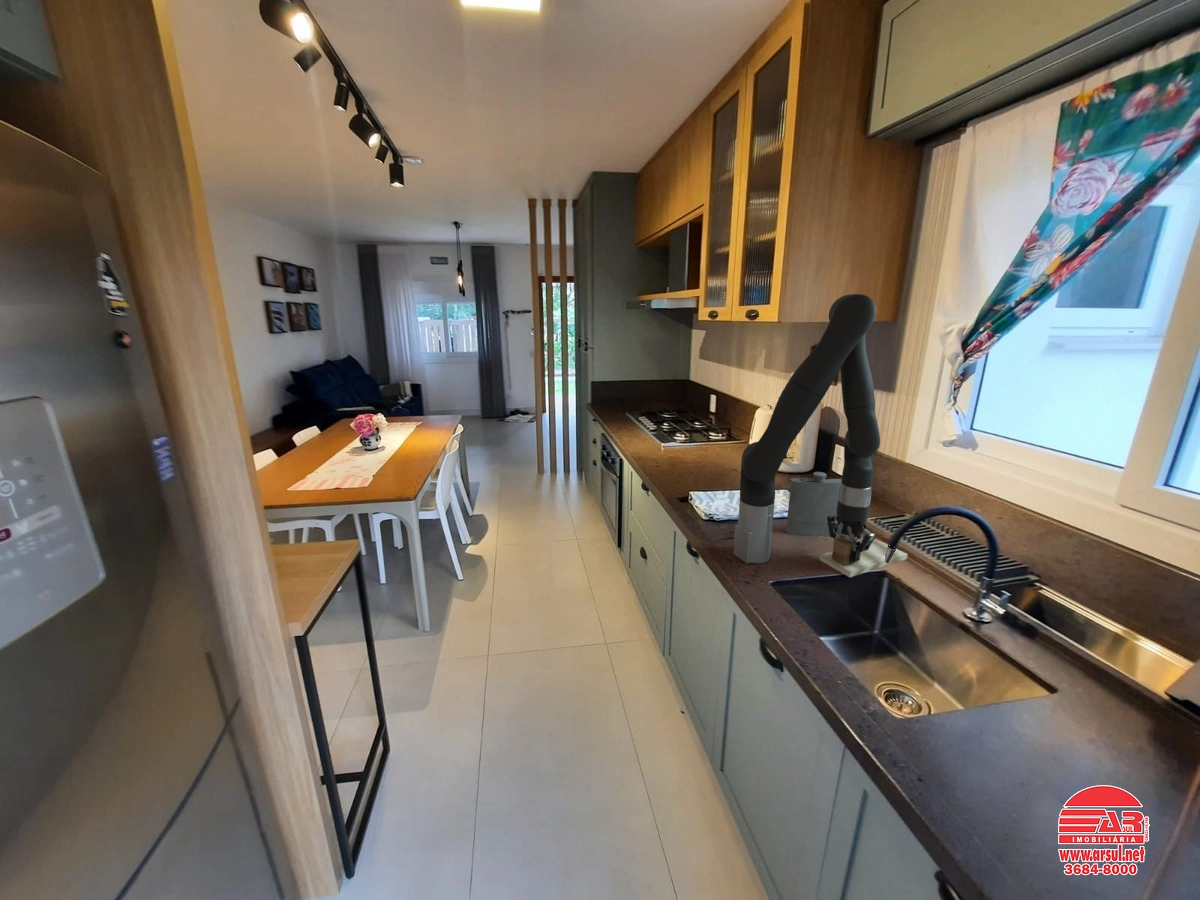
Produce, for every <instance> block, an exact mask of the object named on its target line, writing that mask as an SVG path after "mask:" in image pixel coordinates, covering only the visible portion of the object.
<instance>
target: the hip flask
mask: <svg viewBox="0 0 1200 900" xmlns="http://www.w3.org/2000/svg"><path fill="white" fill-rule="evenodd" d="M841 481H842V478H830V479H827V473H825V472H822V471H815V472H813V477H810V478H809V477H808V478H806V477H805V478H803V477H802V478H794V477H793V478H791V479H790V484H789V485H790V486H789V496H788V507H787V509H788V510H787V517H786V528H785V529H786V530H785V532H786V533H787V534H788V535H796V536H807V537H808V536H809V537H810V536H811V537H830V534H829V528H828V521H827V517H828V516H832V515H836V516H837V513H836V512H837V504H838V496H839V489H840V486H841ZM838 527H839V526H838ZM833 530H834V529H833Z"/></svg>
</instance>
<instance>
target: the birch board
mask: <svg viewBox="0 0 1200 900" xmlns="http://www.w3.org/2000/svg"><path fill="white" fill-rule="evenodd" d="M888 545H889V544H887V543H885V542H883V541H882V540H881V541H880V540H878V539H876V538H875V539H874V540H873V542H872V544H871V546H870V547H869V549H868V550H866V551H863V552H861V557H860V561H857V562H855V563H850V564H847V565H842V564H840V563H839V562H837V561H835V560H833V559H832V553H833V551H830V552H826V553H823V554H821V555H819V561H821V562H822V563H824V564H826V565H828V566H829V567H831V568H832V569H834V570H836V571H838V572H839V573H841V574H843V575H844V576H846V577H848V578H854V577H856V576H859V575H863V574H865V573H868V572H871V571H875V570H877V569H881V568H883V567H886V565H887V566H890V565H892V564H895V563H898V562H902V561H905V560H908V553H906V552H905V551H901V550H899V549H897V548H896V551H895V552H894V554H893V556H892V558H891V560H890V562H889V564H887V563H886V562H885V554H886V551H887V547H888Z"/></svg>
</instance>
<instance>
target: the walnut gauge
mask: <svg viewBox="0 0 1200 900" xmlns="http://www.w3.org/2000/svg"><path fill="white" fill-rule="evenodd" d="M855 538H857V537H855ZM851 545H852V544H851V542H850V541H849V536H848V535H846V536H843V537H841V538H836V539H834V538H833V545H832V552H833V553H832V559H833V560H835V561H837V562H839V563H840V564H842V565H847V564H850V563H851V562H850V554H851V550H852V546H851ZM856 546H857V543H856ZM860 557H861V552H860V556H859V560H858V561H860Z"/></svg>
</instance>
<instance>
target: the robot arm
mask: <svg viewBox="0 0 1200 900" xmlns="http://www.w3.org/2000/svg"><path fill="white" fill-rule="evenodd" d="M876 315H877V306H876V304H875V302H874V300H873V299H872V297H870V296H868V295H866V294H861V293H852V294H851V293H850V294H845V295H842V296H841V297H839V298H837V299H836V300H835V301H834V302H833V303H832V304H831V306H830V308H829V312H828V321H829V323H828V325H827V326H826V329H825V331H824V332H823V334H822V337H821V338H820V340H819V341H818V343H817V345H816V346H815V347H814V349H813V350H812V351H811V352H810V353H809V355H808V356H807V357H806V358H805V359H804V360H803V361H802V363H801V364H800V365H799V366H798V367H797V368H796V369H795V370H794V372H793V374H792V375H791V376H790V377H789V380H788V381H787V383H786V384H785V387H784V388H783V389H782V391H781V393H780V395H779V396H778V400H777V401H776V404H775V406H774V409H773V412H772V414H771V417H770V420H769V422H768V425H767V427H766V429H765V431H764V432H763V433H762V435H761V437H760V438H759V440H758V441H755V442H752V443H750V444H749V445H747V446H746V447H745V449H744V450H743V452H742V455H741V465H740V480H739V481H740V482H739V483H740V484H739V502H738V503H739V505H738V520H737V524H735V525H734V538H733V540H734V541H733V551H732V552H733V555H734V556H736V557H737V558H739V560H741V561H743V562H744V563H745V564H762V563H763V564H764V563H766V562H768V561H769V560H770V557H771V546H772V538H773V536H772V534H773V524H774V523H773V522H774V510H775V500H776V475H777V473H778V471H779V470H780V467H781V465H782V463H783V461H784V459H785V458H786V455H787V453H788V451H789V449H790V447H791V446H792V444H793V442H794V440H795V439H796V438H797V436H798V435H799V434H800V433H801V431H802V430H803V428H804V427H805V426H806V424H807V422H808V421H809V420H810V418H812V415H813V414H814V412H815V411H816V410H817V408H818V406H819V405H820V403H821V401H822V400H823V399H824V397H825V395H826V394H827V392H828V390H829V389H830V388H831V385H832V383H833V382H834V380H835V379H836V377H837V375H838V373H839V372H840V383H841V394H842V395H841V396H842V405H843V412H844V416H845V418H846V423H847V431H846V433H845V437H844V445H843V468H842V474H841V479H842V481H841V486H840V489H839V496H838V504H837V512H836V513H837V516H836V515H832V516H828V517H827V521H828V528H829V534H830V536H829V537H830V538H833V540H834V539H836V538H841V537H843V536H847V535H848V536H849V541H850V542H851V544H852V545H851V546H852V550H851V554H850V562H851V563H855V562H857V561H858V560H859V556H860V552H863V551H866V550H868V549H869V547H870V546H871V544H872V542H873V540H874V539H876V537H877V535H876V532H871V531H870V530H868V529H867V528H868V527H867V522H868V521H867V520H868V518H869V513H870V506H871V498H872V487H873V486H872V485H873V484H872V483H873V478H874V466H873V462H872V460H873V456H874V455H875V454H876V453H877V452H878V450H879V448H880V446H881V436H880V429H879V424H878V420H877V415H876V400H875V399H876V398H875V397H876V396H875V386H874V381H873V380H874V379H873V376H872V372H871V367H870V364H869V360H868V355H867V346H866V333H867V332H868V331H869V329H870V328H871V327H872V325H873V324H874V322H875V319H876ZM838 526H839V527H838ZM833 529H834V530H833ZM855 537H856V538H855ZM856 543H857V546H856Z"/></svg>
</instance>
